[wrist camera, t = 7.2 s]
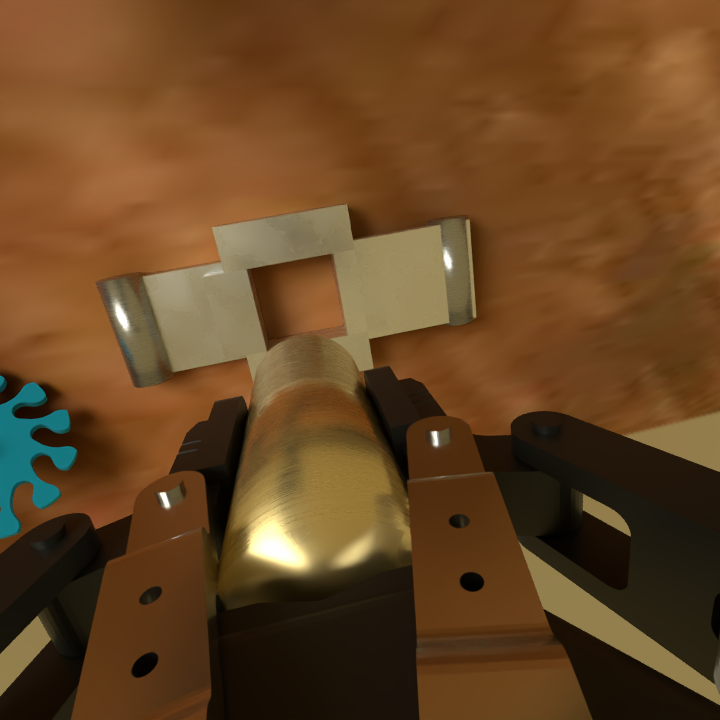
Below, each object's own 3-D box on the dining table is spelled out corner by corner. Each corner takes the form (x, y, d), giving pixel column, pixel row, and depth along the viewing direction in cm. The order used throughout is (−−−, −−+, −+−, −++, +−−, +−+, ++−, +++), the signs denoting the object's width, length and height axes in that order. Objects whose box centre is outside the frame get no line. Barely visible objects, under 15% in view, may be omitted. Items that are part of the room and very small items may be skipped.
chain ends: (93, 247, 26) (73, 252, 24) (455, 184, 28) (472, 182, 25) (149, 400, 30) (136, 419, 27) (467, 335, 31) (483, 347, 29)
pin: (242, 346, 14) (175, 555, 6) (350, 325, 14) (437, 493, 6) (268, 442, 15) (243, 730, 7) (367, 420, 16) (459, 671, 7)
